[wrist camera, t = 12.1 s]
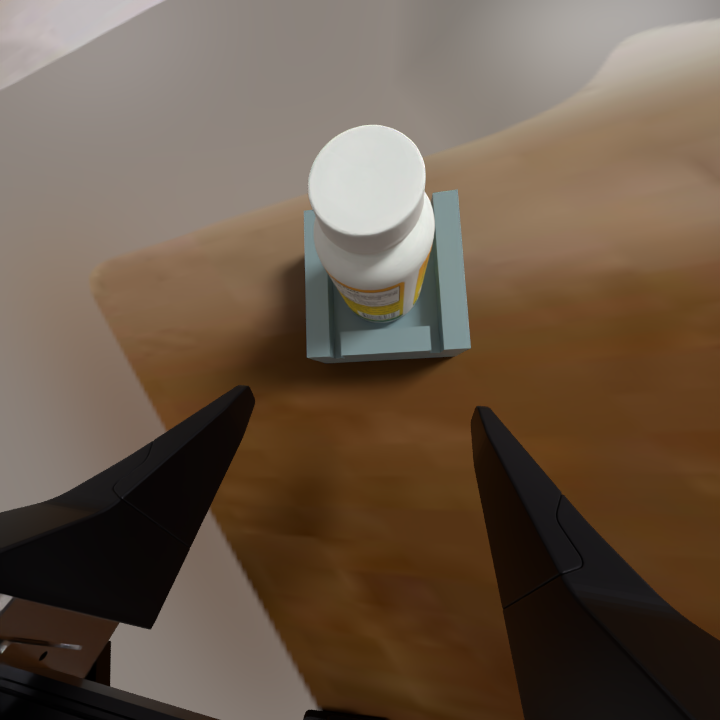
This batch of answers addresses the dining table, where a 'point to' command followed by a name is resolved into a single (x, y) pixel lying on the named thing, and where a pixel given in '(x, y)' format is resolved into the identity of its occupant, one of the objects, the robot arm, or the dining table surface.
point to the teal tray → (413, 330)
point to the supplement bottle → (372, 220)
